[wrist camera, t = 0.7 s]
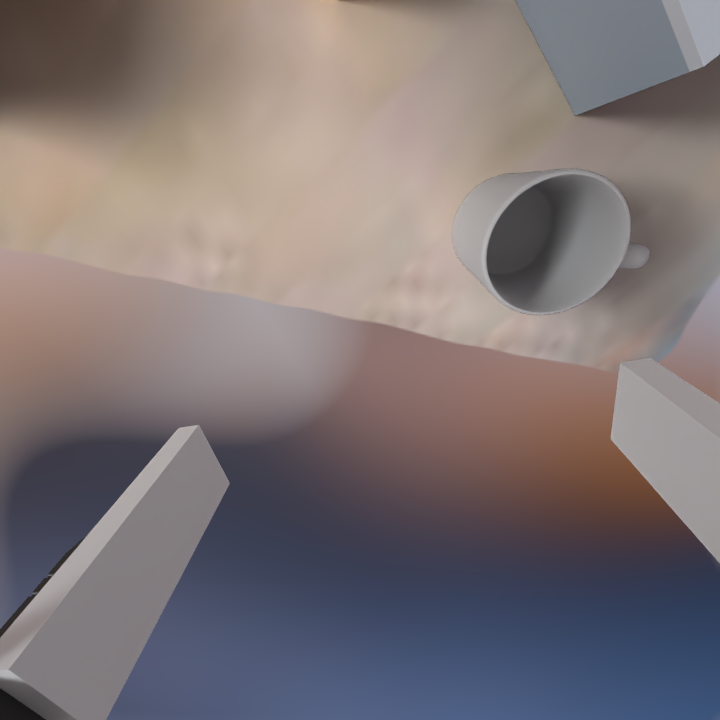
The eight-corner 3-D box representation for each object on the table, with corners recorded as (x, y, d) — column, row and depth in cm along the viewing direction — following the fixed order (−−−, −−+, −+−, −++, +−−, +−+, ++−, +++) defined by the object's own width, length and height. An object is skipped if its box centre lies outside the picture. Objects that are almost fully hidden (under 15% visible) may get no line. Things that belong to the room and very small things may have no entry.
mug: (441, 270, 32) (464, 307, 22) (465, 166, 28) (505, 156, 18) (569, 288, 32) (648, 333, 22) (611, 187, 28) (729, 187, 18)
